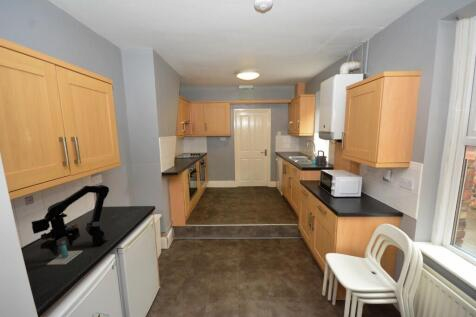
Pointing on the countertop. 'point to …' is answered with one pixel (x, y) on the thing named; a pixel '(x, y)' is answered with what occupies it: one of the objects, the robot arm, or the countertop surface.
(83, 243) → the countertop surface
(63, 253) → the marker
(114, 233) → the countertop surface
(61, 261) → the notepad
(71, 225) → the battery
